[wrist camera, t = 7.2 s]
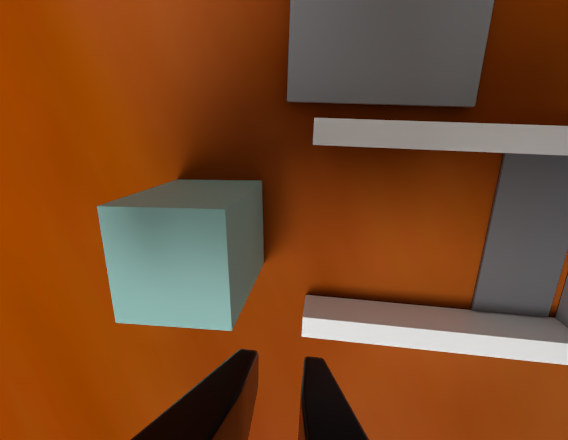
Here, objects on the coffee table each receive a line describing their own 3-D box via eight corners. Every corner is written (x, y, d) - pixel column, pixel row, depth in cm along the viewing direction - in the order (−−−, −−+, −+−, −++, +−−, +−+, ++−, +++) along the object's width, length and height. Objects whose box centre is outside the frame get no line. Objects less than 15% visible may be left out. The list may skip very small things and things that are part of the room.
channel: (638, 130, 16) (757, 130, 11) (572, 338, 19) (646, 401, 14) (316, 119, 17) (312, 116, 13) (304, 312, 20) (298, 361, 16)
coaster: (509, -119, 14) (518, -131, 13) (469, 107, 16) (474, 106, 16) (296, -110, 15) (294, -120, 14) (288, 102, 17) (286, 101, 17)
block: (262, 180, 19) (225, 209, 12) (264, 263, 20) (231, 331, 13) (177, 179, 19) (96, 206, 12) (185, 259, 20) (115, 322, 14)
